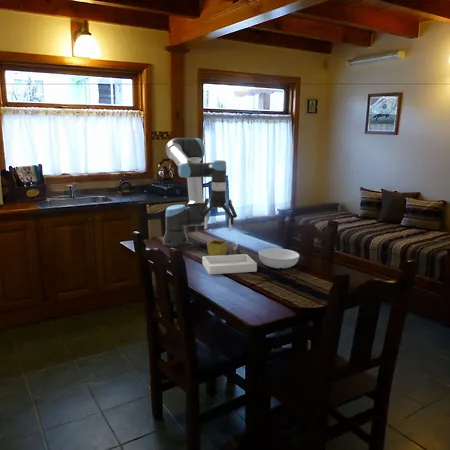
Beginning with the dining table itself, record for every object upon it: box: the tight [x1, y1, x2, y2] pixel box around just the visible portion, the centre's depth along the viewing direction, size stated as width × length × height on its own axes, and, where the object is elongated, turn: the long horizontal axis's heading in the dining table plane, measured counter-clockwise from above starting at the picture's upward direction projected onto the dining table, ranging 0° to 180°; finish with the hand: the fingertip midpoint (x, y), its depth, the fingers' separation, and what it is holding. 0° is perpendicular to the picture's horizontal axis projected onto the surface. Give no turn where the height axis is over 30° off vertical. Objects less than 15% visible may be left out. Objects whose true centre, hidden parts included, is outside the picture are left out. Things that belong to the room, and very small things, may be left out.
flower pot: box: [206, 239, 229, 256], centre depth 232 cm, size 9×9×9 cm
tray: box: [201, 253, 258, 275], centre depth 217 cm, size 17×24×4 cm
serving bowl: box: [258, 247, 300, 269], centre depth 221 cm, size 21×21×7 cm
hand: (217, 229), depth 229 cm, fingers open, 13 cm apart
